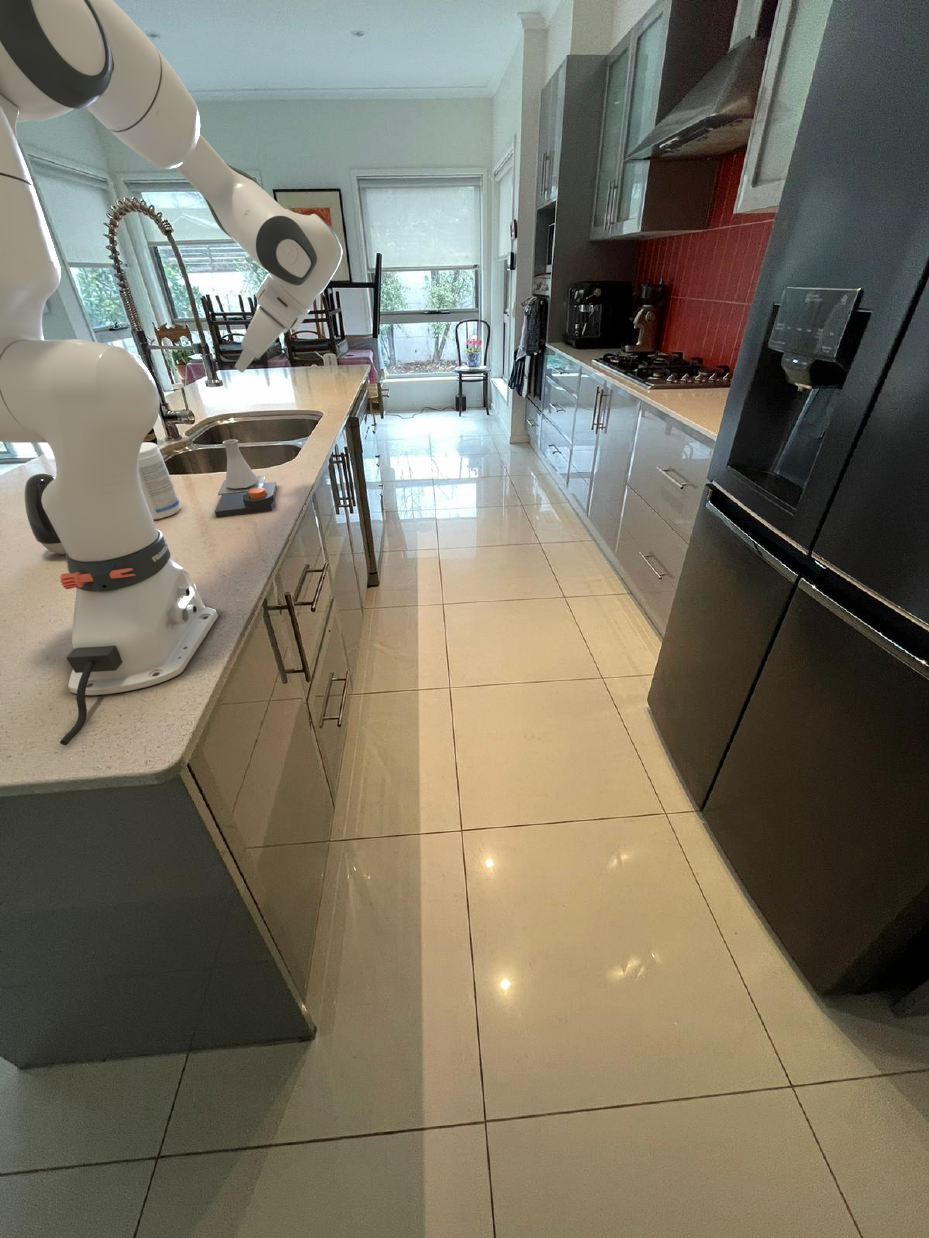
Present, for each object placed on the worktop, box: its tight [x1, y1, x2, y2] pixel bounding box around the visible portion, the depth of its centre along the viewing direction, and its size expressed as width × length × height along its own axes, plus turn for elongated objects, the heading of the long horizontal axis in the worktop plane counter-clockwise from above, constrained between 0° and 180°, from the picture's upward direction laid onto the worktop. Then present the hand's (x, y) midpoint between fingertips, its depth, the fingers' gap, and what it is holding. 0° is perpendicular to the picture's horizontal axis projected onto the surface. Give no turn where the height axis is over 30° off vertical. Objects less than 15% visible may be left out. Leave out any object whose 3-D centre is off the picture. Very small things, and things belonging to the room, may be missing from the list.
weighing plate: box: [217, 475, 266, 496], centre depth 122 cm, size 10×10×1 cm
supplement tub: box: [138, 441, 182, 521], centre depth 113 cm, size 10×10×15 cm
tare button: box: [248, 488, 267, 499], centre depth 116 cm, size 4×4×2 cm
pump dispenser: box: [24, 473, 67, 555], centre depth 99 cm, size 10×10×15 cm
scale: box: [214, 481, 278, 518], centre depth 121 cm, size 16×13×3 cm
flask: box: [222, 439, 258, 489], centre depth 119 cm, size 7×7×10 cm
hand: (241, 366), depth 102 cm, fingers open, 8 cm apart
